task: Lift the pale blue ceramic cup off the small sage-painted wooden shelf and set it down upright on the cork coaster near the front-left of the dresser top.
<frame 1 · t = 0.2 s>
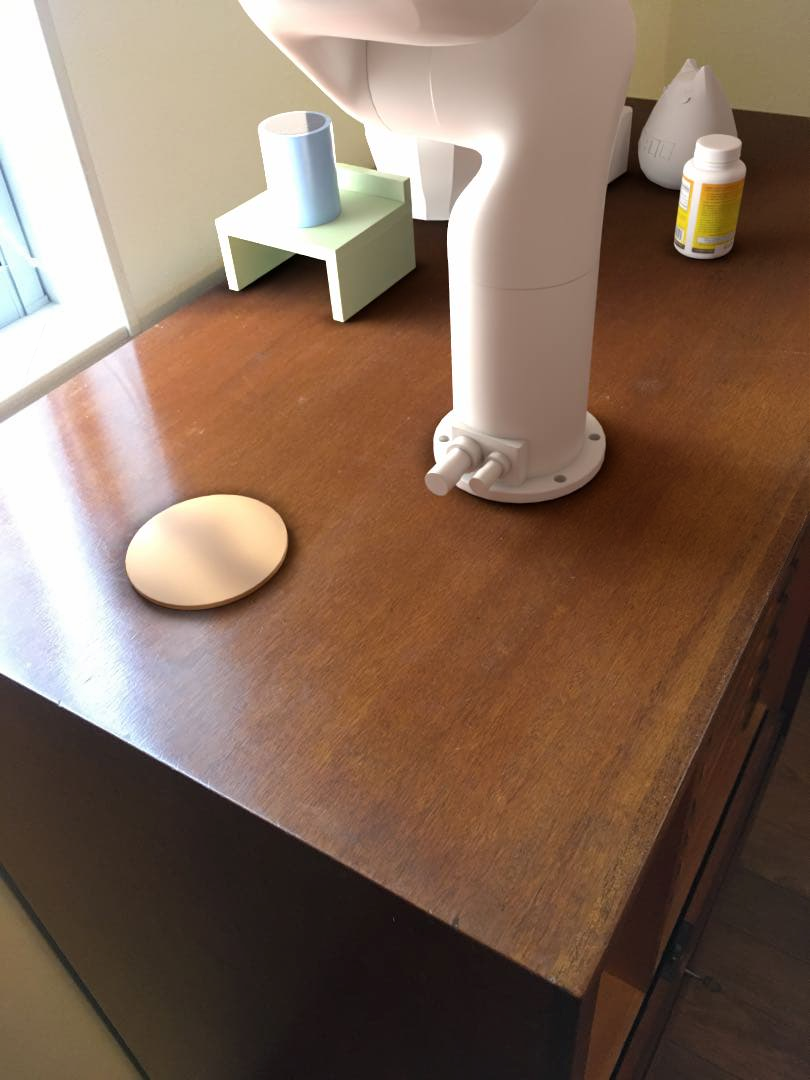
vase: (435, 208, 102), on the dresser
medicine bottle: (583, 178, 106), on the dresser
coaster: (208, 550, 64), on the dresser
toy character: (681, 180, 104), on the dresser
cup: (307, 213, 86), point 7 cm above the dresser, touching shelf
supplement bottle: (701, 250, 91), on the dresser
shelf: (323, 278, 92), on the dresser
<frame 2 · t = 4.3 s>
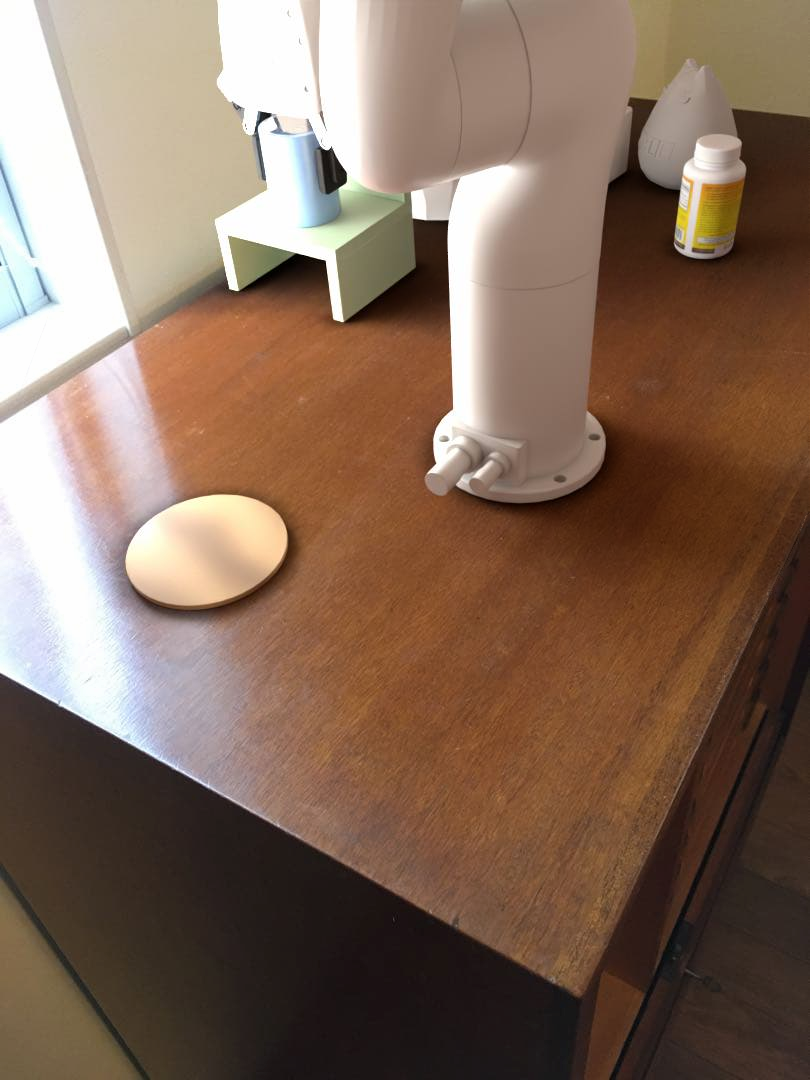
hand: (302, 180, 84), 10 cm above the dresser, tool pointing down, fingers closed on cup, 6 cm apart
cup: (307, 213, 86), point 7 cm above the dresser, touching gripper, shelf
everything else where it was.
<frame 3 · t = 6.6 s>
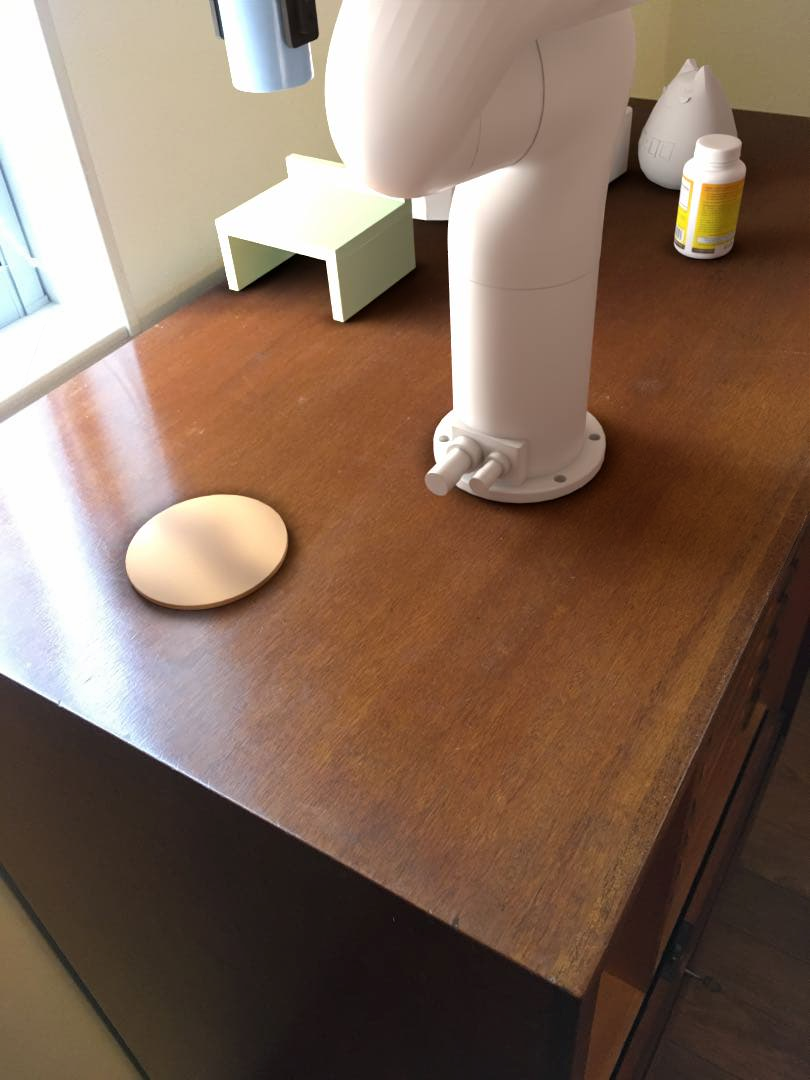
hand: (267, 36, 71), 23 cm above the dresser, tool pointing down, fingers closed on cup, 6 cm apart
cup: (273, 79, 73), point 20 cm above the dresser, touching gripper
everything else where it was.
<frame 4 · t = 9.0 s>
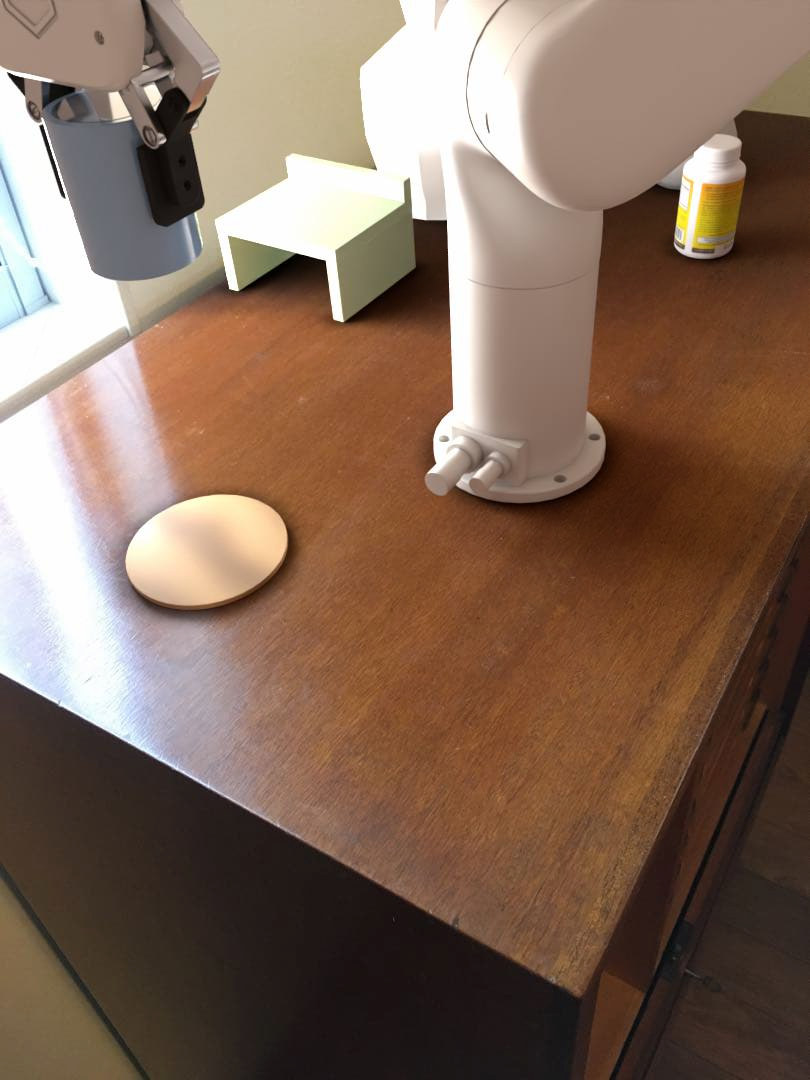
hand: (132, 200, 50), 23 cm above the dresser, tool pointing down, fingers closed on cup, 6 cm apart
cup: (145, 254, 52), point 20 cm above the dresser, touching gripper
everything else where it was.
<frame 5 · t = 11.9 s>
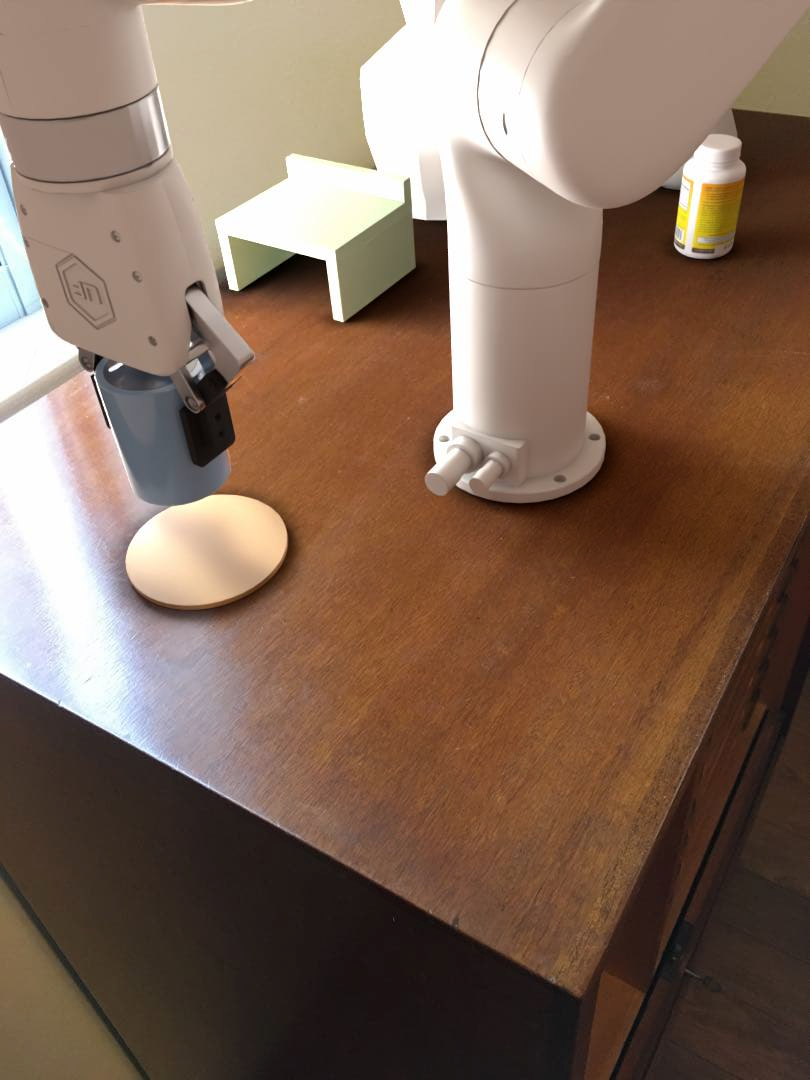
hand: (171, 433, 57), 10 cm above the dresser, tool pointing down, fingers closed on cup, 6 cm apart
cup: (181, 473, 59), point 7 cm above the dresser, touching gripper
everything else where it was.
when the fingers open (3 cm above the dresser, at t = 14.0 s): cup stays where it is, resting on coaster.
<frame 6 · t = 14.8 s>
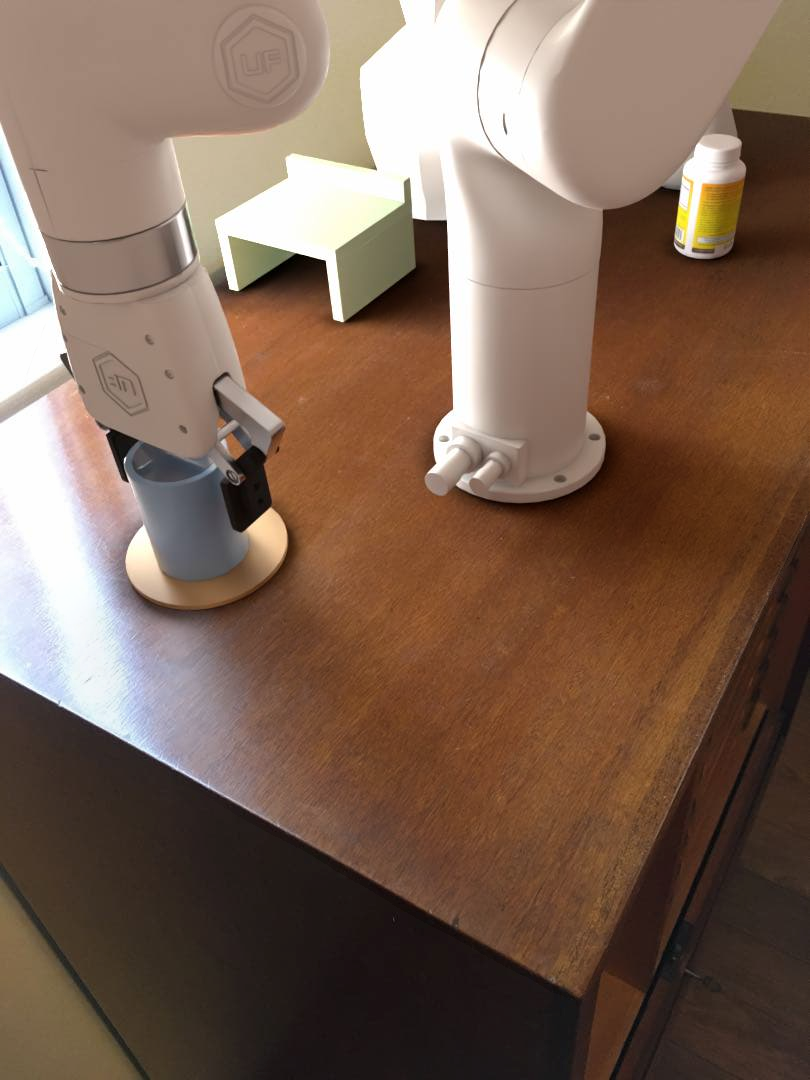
hand: (196, 493, 60), 5 cm above the dresser, tool pointing down, fingers open, 9 cm apart
cup: (203, 548, 63), resting on coaster
everything else where it was.
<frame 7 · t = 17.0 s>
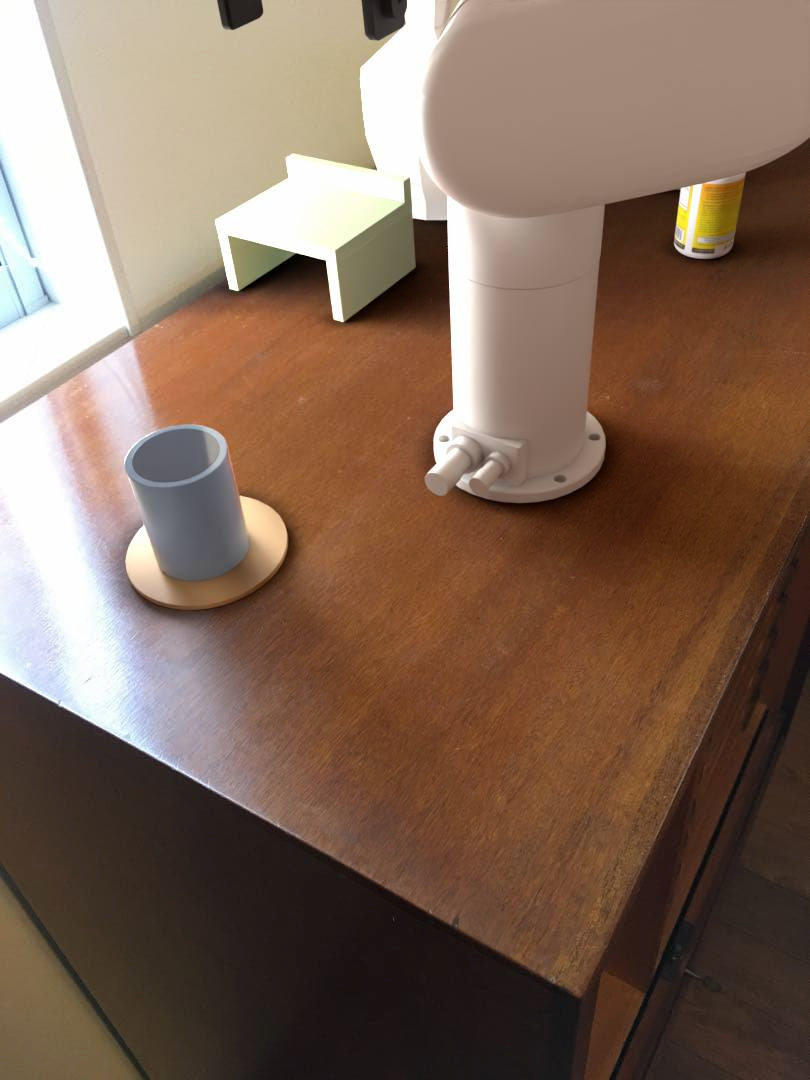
hand: (312, 28, 52), 29 cm above the dresser, tool pointing down, fingers open, 9 cm apart
nothing on the dresser moved.
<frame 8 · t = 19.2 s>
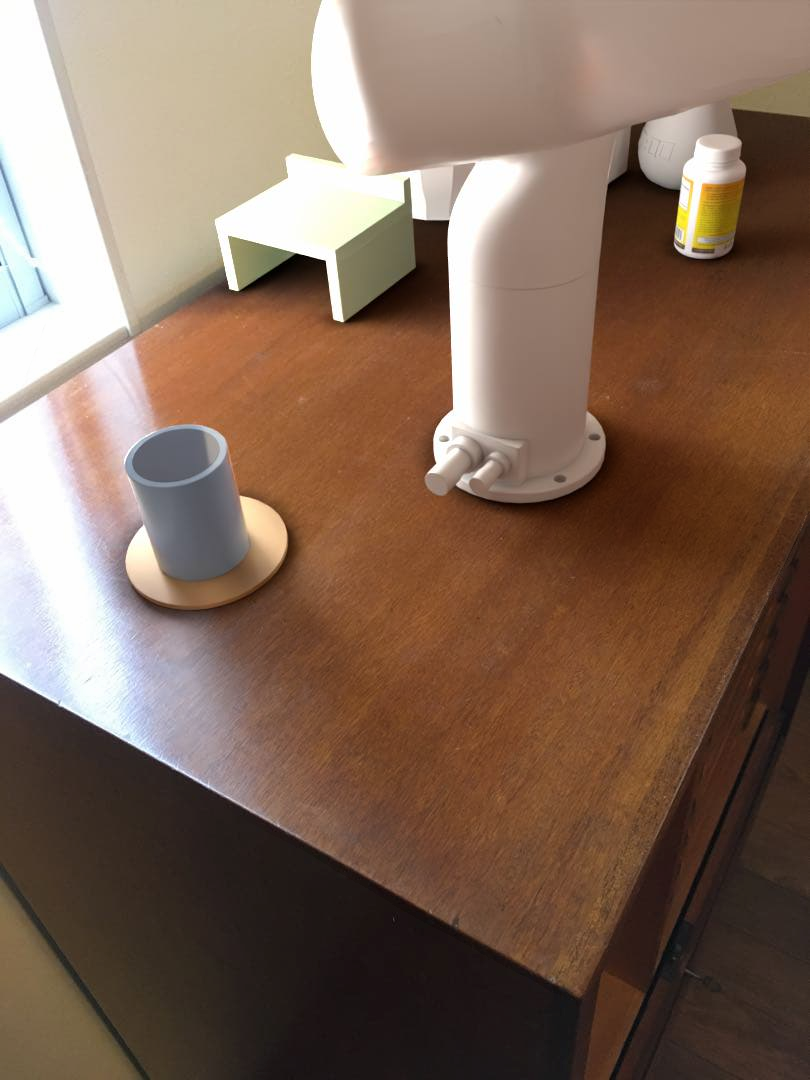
nothing on the dresser moved.
at the end: cup 0.2 cm off-centre on the coaster, point 0.4 cm above the coaster's base; cup tilted 0°; cup touching coaster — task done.
